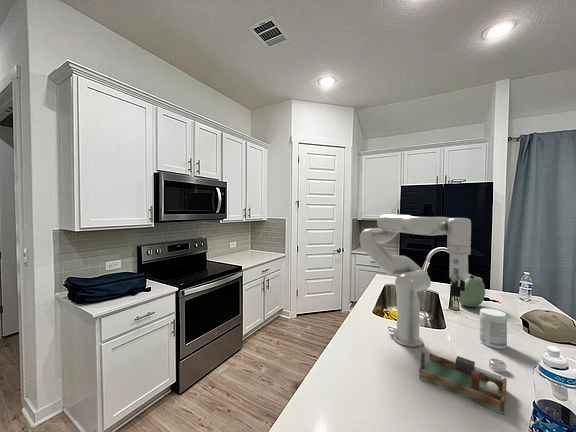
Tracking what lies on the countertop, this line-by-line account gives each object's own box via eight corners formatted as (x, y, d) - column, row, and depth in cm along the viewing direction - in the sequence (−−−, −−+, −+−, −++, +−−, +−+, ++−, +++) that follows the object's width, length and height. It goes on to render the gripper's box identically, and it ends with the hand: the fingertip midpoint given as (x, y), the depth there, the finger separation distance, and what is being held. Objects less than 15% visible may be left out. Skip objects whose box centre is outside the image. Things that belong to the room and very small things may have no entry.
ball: (500, 389, 78) (497, 399, 78) (500, 384, 80) (498, 393, 81) (485, 382, 80) (483, 392, 80) (486, 377, 83) (484, 386, 83)
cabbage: (447, 304, 160) (448, 274, 159) (462, 299, 169) (463, 270, 169) (475, 313, 146) (476, 280, 146) (490, 307, 156) (491, 276, 155)
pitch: (415, 376, 90) (415, 360, 90) (426, 360, 100) (426, 345, 100) (504, 415, 73) (504, 395, 73) (506, 390, 83) (506, 373, 83)
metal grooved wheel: (509, 371, 93) (494, 364, 98) (509, 364, 93) (494, 356, 98) (500, 374, 91) (486, 366, 96) (501, 366, 91) (486, 359, 96)
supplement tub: (509, 345, 111) (510, 313, 111) (502, 352, 106) (503, 318, 106) (483, 336, 119) (484, 306, 119) (475, 342, 114) (476, 310, 114)
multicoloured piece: (455, 380, 86) (455, 359, 86) (456, 376, 88) (457, 355, 88) (500, 399, 78) (501, 375, 77) (501, 393, 80) (501, 371, 80)
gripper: (466, 253, 87) (465, 301, 88) (473, 248, 100) (472, 290, 100) (442, 250, 93) (441, 296, 93) (451, 246, 105) (450, 286, 105)
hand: (457, 293), depth 97 cm, fingers open, 9 cm apart
